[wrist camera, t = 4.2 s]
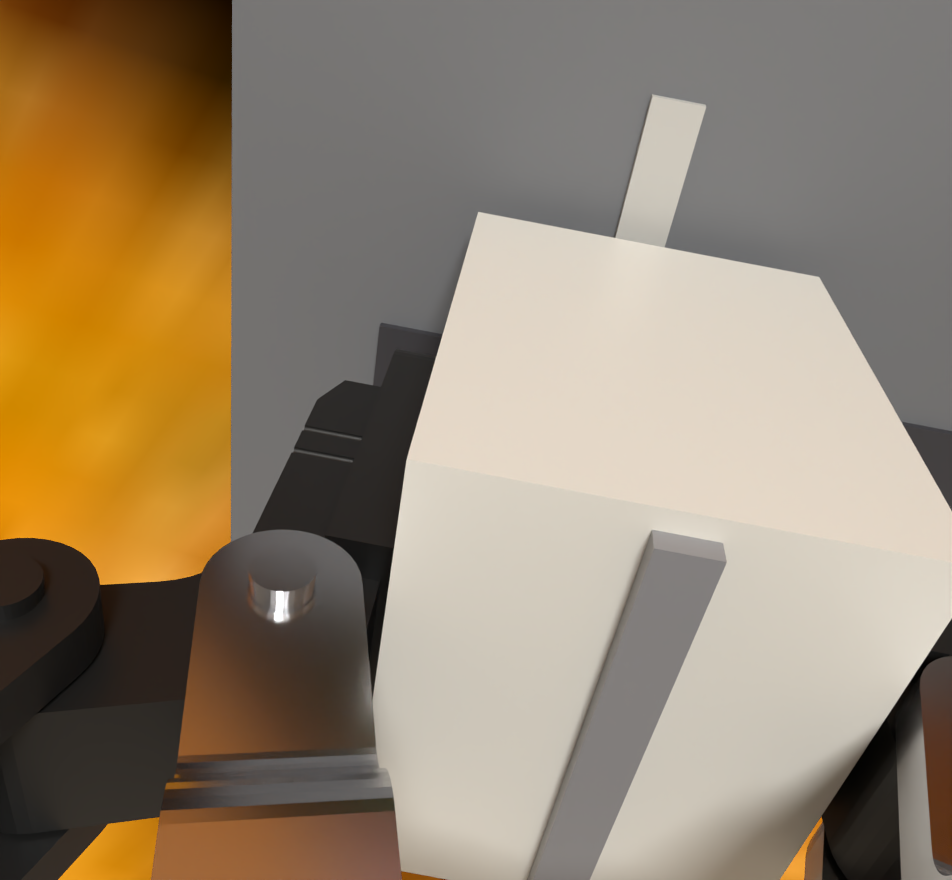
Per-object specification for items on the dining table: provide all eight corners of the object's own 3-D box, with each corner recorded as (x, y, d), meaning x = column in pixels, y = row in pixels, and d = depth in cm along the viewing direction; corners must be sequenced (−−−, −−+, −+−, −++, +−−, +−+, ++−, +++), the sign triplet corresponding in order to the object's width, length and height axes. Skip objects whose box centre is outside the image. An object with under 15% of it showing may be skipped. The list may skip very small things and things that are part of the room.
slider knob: (423, 538, 13) (345, 881, 9) (478, 212, 10) (401, 476, 6) (691, 588, 13) (746, 954, 9) (819, 276, 10) (995, 589, 6)
